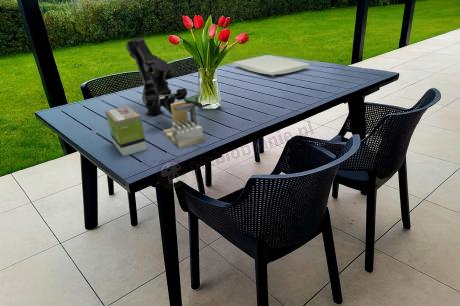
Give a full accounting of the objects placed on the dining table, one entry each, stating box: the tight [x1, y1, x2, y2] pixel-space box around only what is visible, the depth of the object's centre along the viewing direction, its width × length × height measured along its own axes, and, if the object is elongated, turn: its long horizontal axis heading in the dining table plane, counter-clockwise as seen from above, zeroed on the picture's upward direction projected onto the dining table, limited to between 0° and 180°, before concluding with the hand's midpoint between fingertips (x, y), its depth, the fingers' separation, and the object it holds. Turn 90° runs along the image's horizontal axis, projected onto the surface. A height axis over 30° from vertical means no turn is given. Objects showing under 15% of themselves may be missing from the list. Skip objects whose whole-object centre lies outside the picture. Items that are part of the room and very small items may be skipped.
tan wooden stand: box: [162, 103, 206, 149], centre depth 146 cm, size 18×11×14 cm, turn 30°
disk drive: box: [183, 94, 212, 109], centre depth 189 cm, size 10×3×15 cm
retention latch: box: [171, 100, 189, 124], centre depth 145 cm, size 6×6×13 cm
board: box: [232, 54, 311, 77], centre depth 247 cm, size 45×32×5 cm
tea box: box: [105, 105, 148, 157], centre depth 140 cm, size 15×10×15 cm, turn 32°
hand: (172, 114), depth 153 cm, fingers closed
